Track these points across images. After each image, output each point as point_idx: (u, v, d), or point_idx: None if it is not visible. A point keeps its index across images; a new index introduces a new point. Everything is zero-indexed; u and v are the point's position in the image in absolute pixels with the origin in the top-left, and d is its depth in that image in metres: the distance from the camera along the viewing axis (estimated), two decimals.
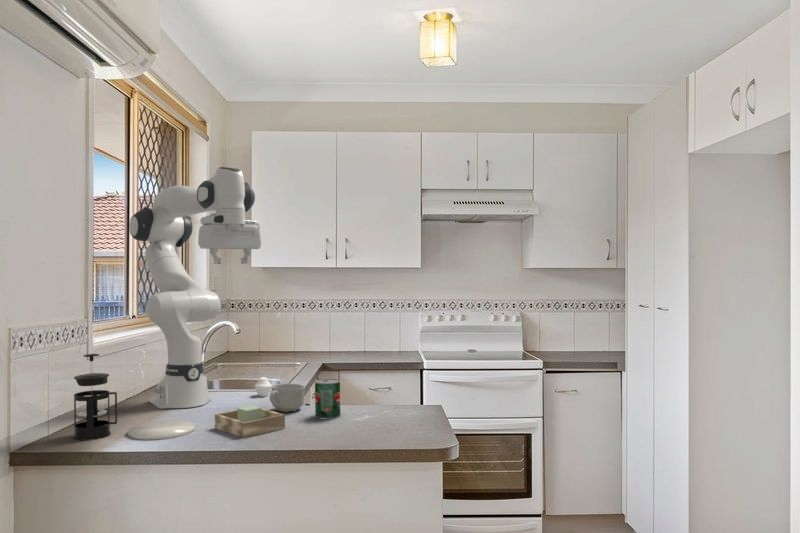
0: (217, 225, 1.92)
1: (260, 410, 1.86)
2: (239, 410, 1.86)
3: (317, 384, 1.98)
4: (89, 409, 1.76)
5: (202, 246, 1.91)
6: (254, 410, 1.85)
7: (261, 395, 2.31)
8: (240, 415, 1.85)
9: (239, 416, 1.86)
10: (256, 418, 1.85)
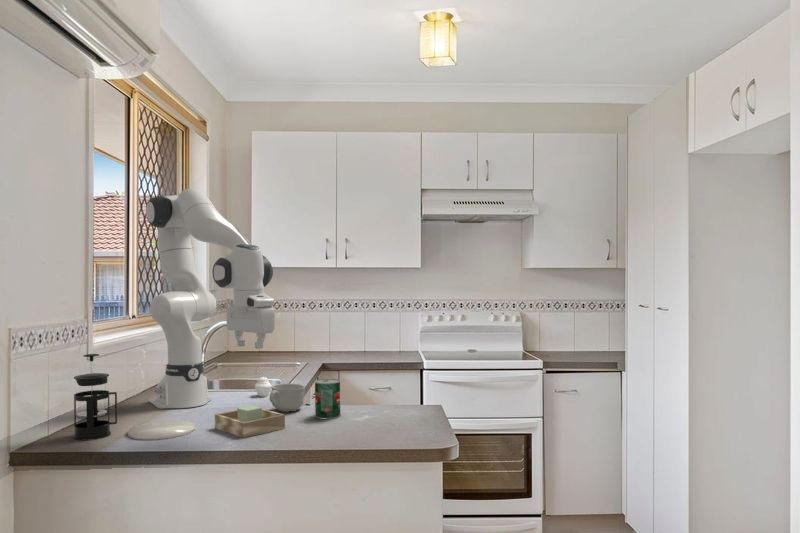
0: None
1: (260, 410, 1.86)
2: (239, 410, 1.86)
3: (317, 384, 1.98)
4: (89, 409, 1.76)
5: (270, 331, 1.80)
6: (254, 410, 1.85)
7: (261, 395, 2.31)
8: (240, 415, 1.85)
9: (239, 416, 1.86)
10: (256, 418, 1.85)
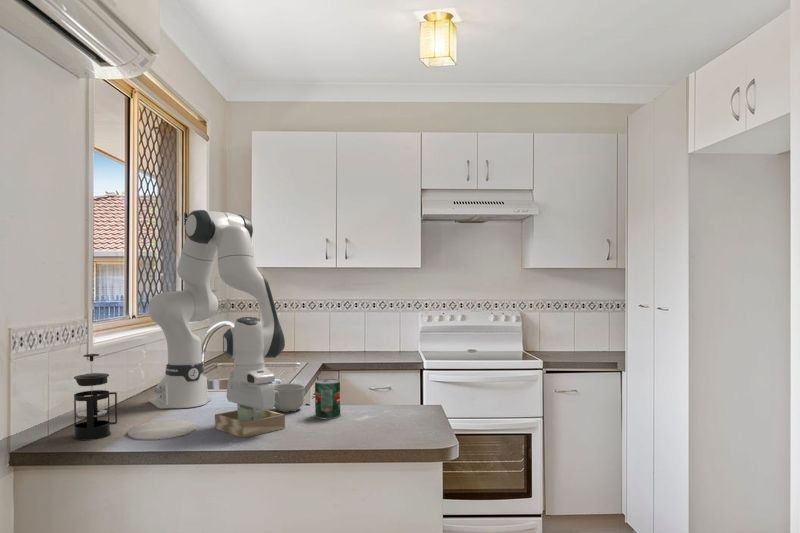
0: None
1: None
2: (239, 410, 1.86)
3: (317, 384, 1.98)
4: (89, 409, 1.76)
5: (270, 407, 1.80)
6: None
7: None
8: (240, 415, 1.85)
9: (239, 416, 1.86)
10: None
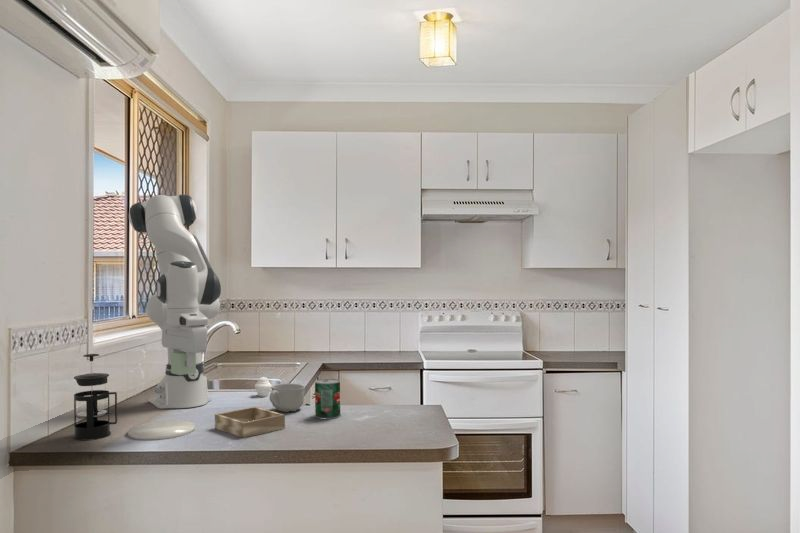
0: None
1: None
2: (172, 354, 1.84)
3: (317, 384, 1.98)
4: (89, 409, 1.76)
5: (202, 350, 1.78)
6: None
7: (261, 395, 2.31)
8: (173, 359, 1.84)
9: (172, 360, 1.84)
10: None
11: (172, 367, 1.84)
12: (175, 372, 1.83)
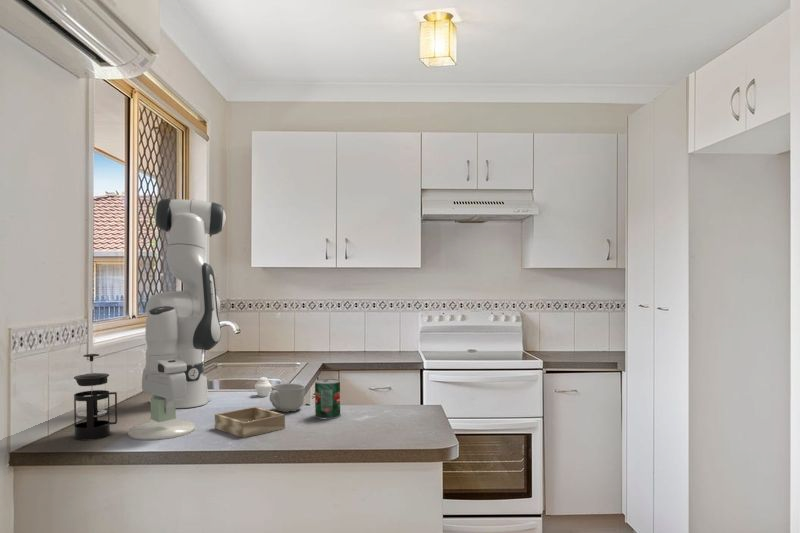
0: None
1: None
2: (152, 400, 1.83)
3: (317, 384, 1.98)
4: (89, 409, 1.76)
5: (181, 397, 1.78)
6: None
7: (261, 395, 2.31)
8: (153, 406, 1.83)
9: (152, 406, 1.83)
10: None
11: (152, 413, 1.83)
12: (154, 419, 1.82)
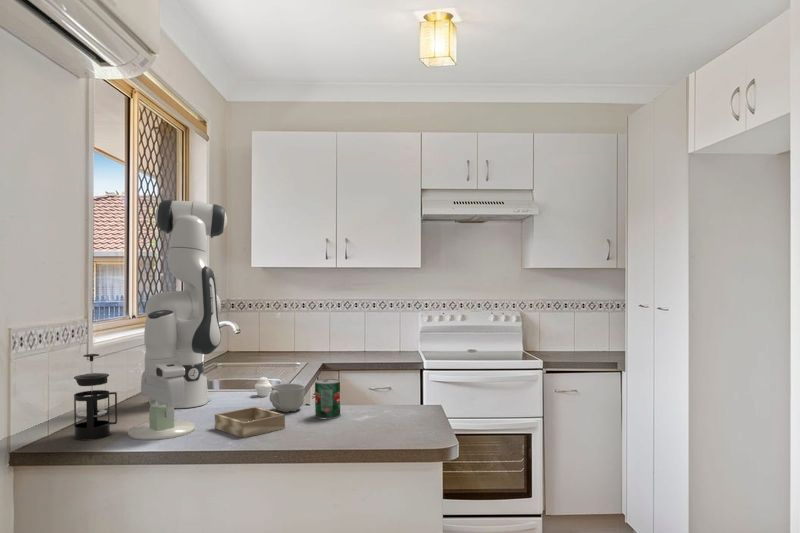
0: None
1: None
2: (150, 409, 1.83)
3: (317, 384, 1.98)
4: (89, 409, 1.76)
5: (179, 401, 1.78)
6: (165, 409, 1.82)
7: (261, 395, 2.31)
8: (151, 414, 1.83)
9: (151, 415, 1.83)
10: None
11: (150, 422, 1.84)
12: (153, 428, 1.82)
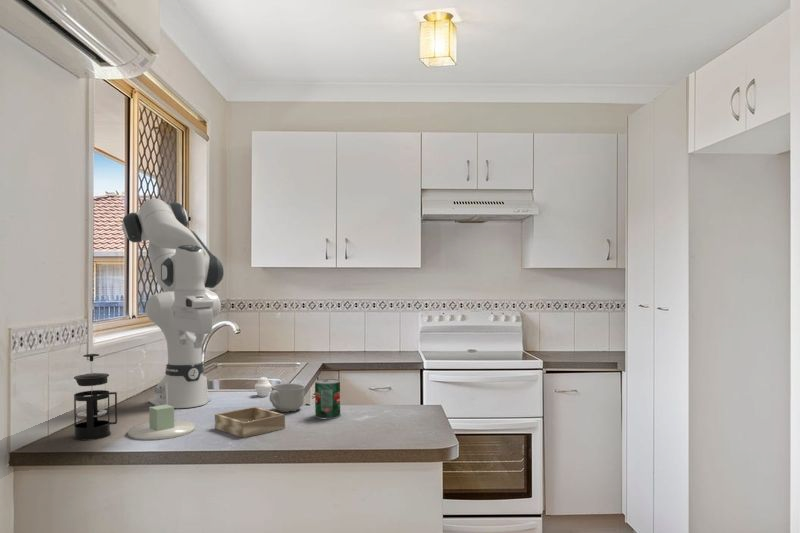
0: None
1: (172, 409, 1.84)
2: (150, 409, 1.83)
3: (317, 384, 1.98)
4: (89, 409, 1.76)
5: (208, 331, 1.84)
6: (165, 409, 1.82)
7: (261, 395, 2.31)
8: (151, 414, 1.83)
9: (151, 415, 1.83)
10: (167, 417, 1.83)
11: (150, 422, 1.84)
12: (153, 428, 1.82)
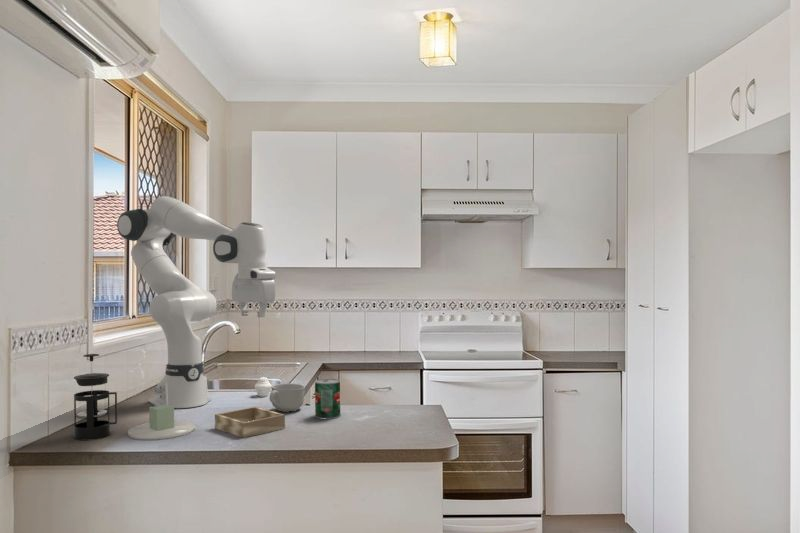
0: None
1: (172, 409, 1.84)
2: (150, 409, 1.83)
3: (317, 384, 1.98)
4: (89, 409, 1.76)
5: (271, 300, 1.98)
6: (165, 409, 1.82)
7: (261, 395, 2.31)
8: (151, 414, 1.83)
9: (151, 415, 1.83)
10: (167, 417, 1.83)
11: (150, 422, 1.84)
12: (153, 428, 1.82)
